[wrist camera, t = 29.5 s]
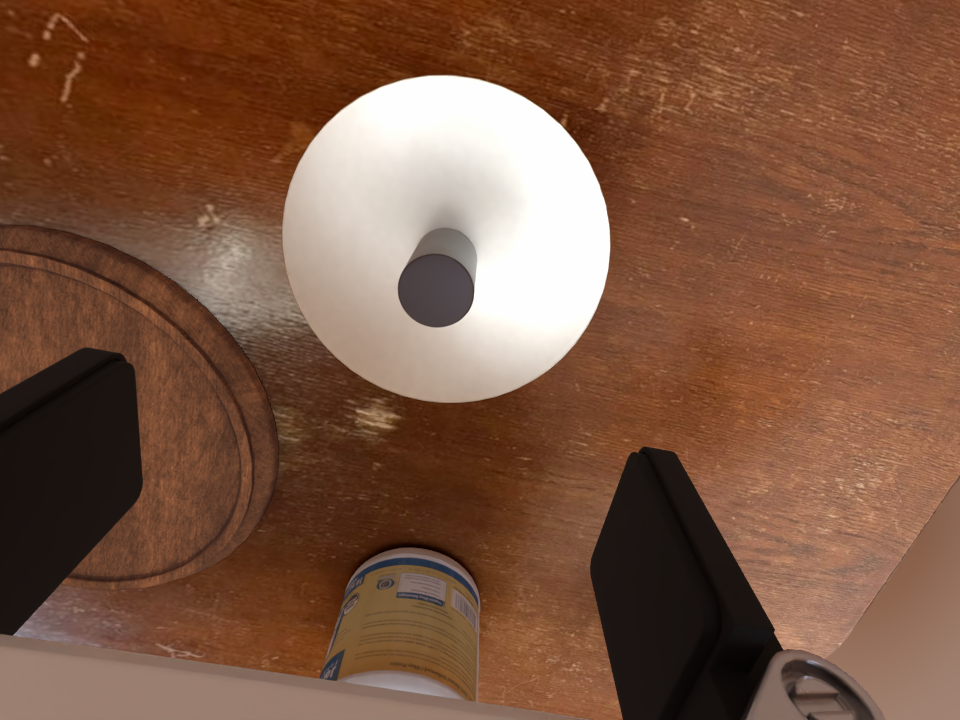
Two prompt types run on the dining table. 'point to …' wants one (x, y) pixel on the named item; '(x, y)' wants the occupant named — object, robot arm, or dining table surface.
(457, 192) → the lid
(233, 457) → the cutting board
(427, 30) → the dining table surface
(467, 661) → the supplement tub
